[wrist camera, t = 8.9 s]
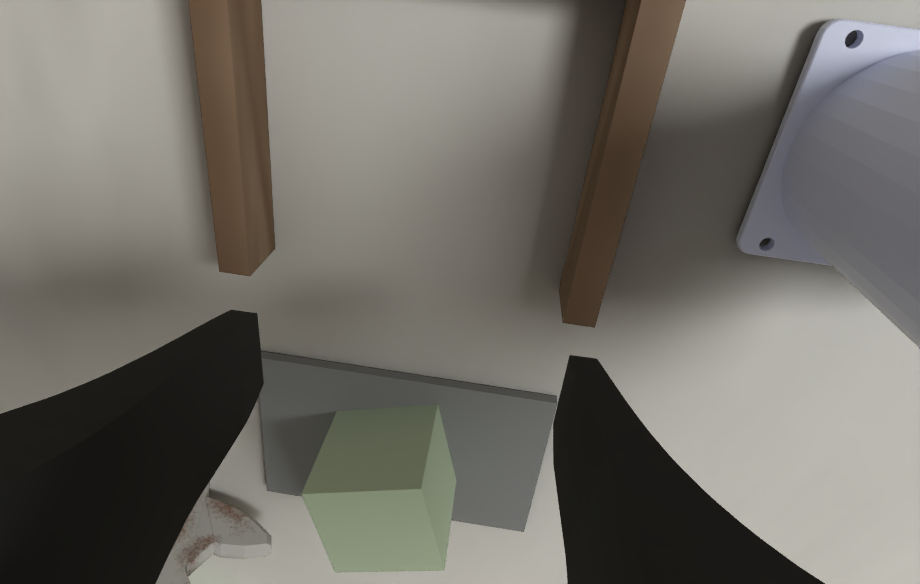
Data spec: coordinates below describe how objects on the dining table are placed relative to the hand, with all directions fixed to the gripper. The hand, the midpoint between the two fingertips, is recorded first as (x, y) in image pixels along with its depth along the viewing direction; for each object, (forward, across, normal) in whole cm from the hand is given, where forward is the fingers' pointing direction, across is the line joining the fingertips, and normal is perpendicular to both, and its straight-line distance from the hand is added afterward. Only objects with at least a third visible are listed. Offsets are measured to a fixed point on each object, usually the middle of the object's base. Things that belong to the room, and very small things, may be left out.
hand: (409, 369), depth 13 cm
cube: (+10, +2, +13) cm, 16 cm away
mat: (+10, +2, +13) cm, 17 cm away
